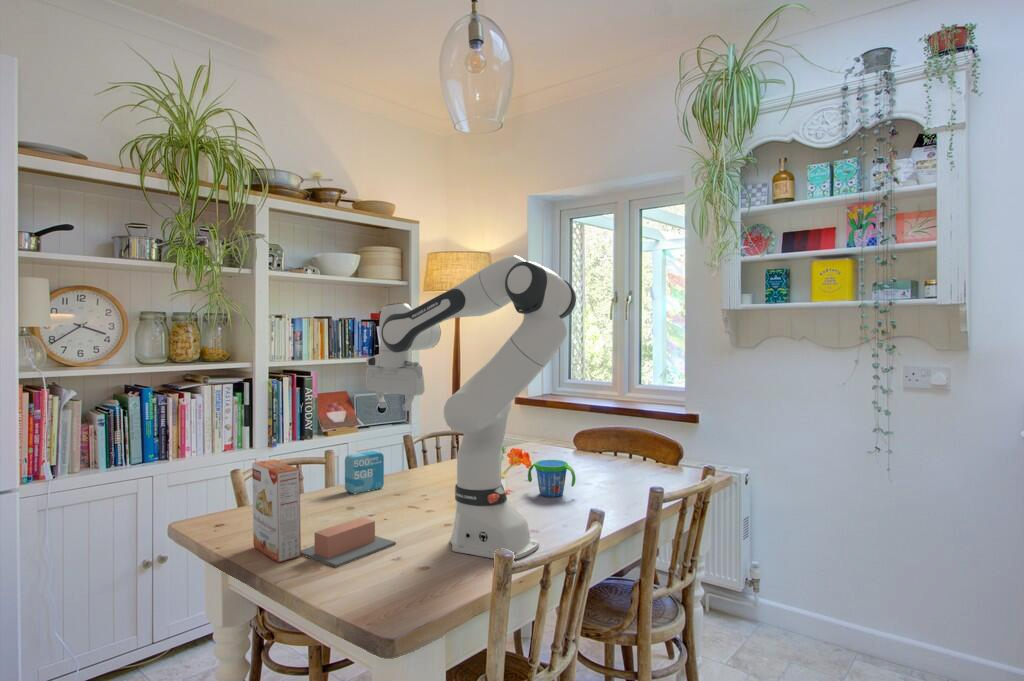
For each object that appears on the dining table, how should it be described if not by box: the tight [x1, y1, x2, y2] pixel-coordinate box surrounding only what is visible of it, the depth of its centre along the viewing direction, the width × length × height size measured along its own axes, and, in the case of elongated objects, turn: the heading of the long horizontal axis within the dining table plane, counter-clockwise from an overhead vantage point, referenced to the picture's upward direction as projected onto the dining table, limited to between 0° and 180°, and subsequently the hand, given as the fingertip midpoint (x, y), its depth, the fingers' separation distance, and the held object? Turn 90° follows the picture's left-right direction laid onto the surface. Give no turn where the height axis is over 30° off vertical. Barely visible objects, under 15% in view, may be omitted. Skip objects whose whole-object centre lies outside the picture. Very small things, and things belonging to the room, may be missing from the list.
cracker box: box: [251, 459, 302, 563], centre depth 145 cm, size 14×6×21 cm, turn 45°
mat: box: [301, 535, 397, 568], centre depth 148 cm, size 14×18×1 cm
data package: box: [344, 450, 385, 494], centre depth 201 cm, size 12×4×12 cm, turn 134°
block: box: [313, 516, 376, 559], centre depth 148 cm, size 5×5×14 cm
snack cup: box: [527, 459, 577, 498], centre depth 197 cm, size 16×10×10 cm
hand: (394, 409), depth 175 cm, fingers open, 8 cm apart
